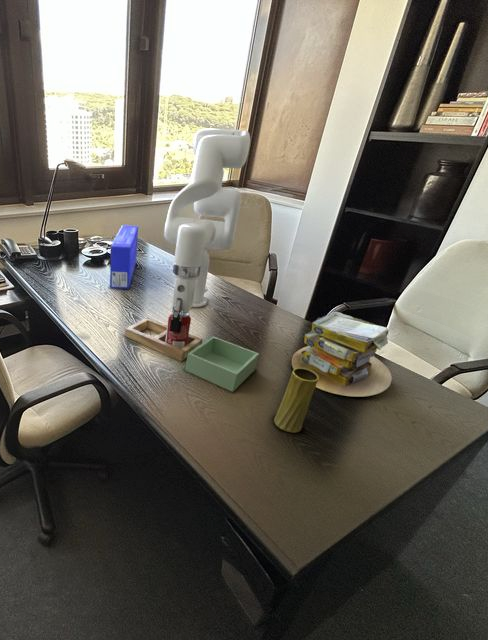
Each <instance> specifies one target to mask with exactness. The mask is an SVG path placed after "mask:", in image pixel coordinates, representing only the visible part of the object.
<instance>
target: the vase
mask: <svg viewBox="0 0 488 640" xmlns="http://www.w3.org/2000/svg"><path fill="white" fill-rule="evenodd" d="M318 379H319V377H318V375H317V374H316V373H315V372H314V371H312V370H309V369H306V368H295V369H293V370H292V371H291V374H290V377H289V380H288V383H287V386H286V389H285V392H284V394H283V396H282V400H281V402H280V404H279V406H278V409H277V411H276V414H275V416H274V418H273V423H274V424H275V426H276V427H278V429H280V430H282V431H284V432H287V433H291V434H294V433H295V434H296V433H299V432H300V431H301V430H302V429H303V423H304V422H305V418H306V416H307V412H308V409H309V406H310V403H311V400H312V397H313V394H314V392H315V389H316V388H317V387H316V384H317V382H318Z"/></svg>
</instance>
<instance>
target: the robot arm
mask: <svg viewBox="0 0 488 640" xmlns="http://www.w3.org/2000/svg"><path fill="white" fill-rule="evenodd" d="M250 146H251V135H250V132H249V130H244V129H233V128H232V129H231V128H230V129H228V128H210V127H209V128H202V129H199V130H197V131H196V132H195V133H194V135H193V141H192V147H193V154H194V160H193V165H192V171H191V174H190V179H189V183H188V184H187V185H186V186H184V187H183V188H182V189H181V190H180V191H179V192H178V193H177V194H176V195H175V197H174V198H173V199H172V200H171V203H170V204H169V207H168V210H167V215H166V220H165V224H164V230H163V232H164V233H163V237H164V240H165V241H166V242H167V243H169V244H171V245H175V251H174V258H173V259H174V260H173V268H172V276H173V277H174V278H175V280H174V284H173V285H174V286H173V291H172V292H173V293H172V299H171V311H172V310H173V313H172V317H171V323H170V331H171V332H176V333H180V332H181V326H182V320H181V319H182V315H183V312H185V313H188V312H189V313H190V310H191V308H202V307H204V306H206V305H207V302H208V299H207V298H206V297H205V294H206V293H207V292H208V291H209V290H208V288H207V287H206V285H207V280H208V273H209V269H210V263H211V259H210V255H209V253H208V251H207V250H206V249H215V250H223V251H225V250H230V249H231V248H232V246H233V244H234V241H235V237H236V232H237V228H238V222H239V218H240V211H241V206H242V194H241V192H240V191H239V190H238V189H235V188H227V187H225V188H224V187H223V180H224V175H225V172H224V169H233V170H234V169H236V170H238V169H242V168H243V167H244V166H245V164H246V162H247V159H248V157H249V156H248V155H249V151H250ZM190 204H193V210H194V211H193V212H194V213H195V214H197V215H198V216H204V217H213V218H221V219H223V220H224V221H221V220H212V219H203V218H202V219H201V218H192V217H184V216H183V217H181V216H178V215H179V213H180V211H181V210H182V209H184V208H185V207H187V206H188V205H190ZM180 309H182V310H180ZM178 313H180V315H179V314H178Z"/></svg>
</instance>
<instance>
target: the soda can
mask: <svg viewBox="0 0 488 640" xmlns="http://www.w3.org/2000/svg"><path fill="white" fill-rule="evenodd" d="M180 310H182V309H180ZM170 312H171V313H170V314H168V317H167V324H166V325H167V332H166V340H165V342H166V343H168V344H170V345H173V346H175V347H178V348H180V349H182V348H183V347H185V346H186V345H187V341H188V335H189V334H190V328H191V323H192V318H191V313H190V311H189V312H188V313H185V312H183V315H182V319H181V320H182V326H181V332H180V333H176V332H171V331H170V323H171V317H172V313H173V310H172V309H171V311H170ZM178 314H179V315H180V313H178Z"/></svg>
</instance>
